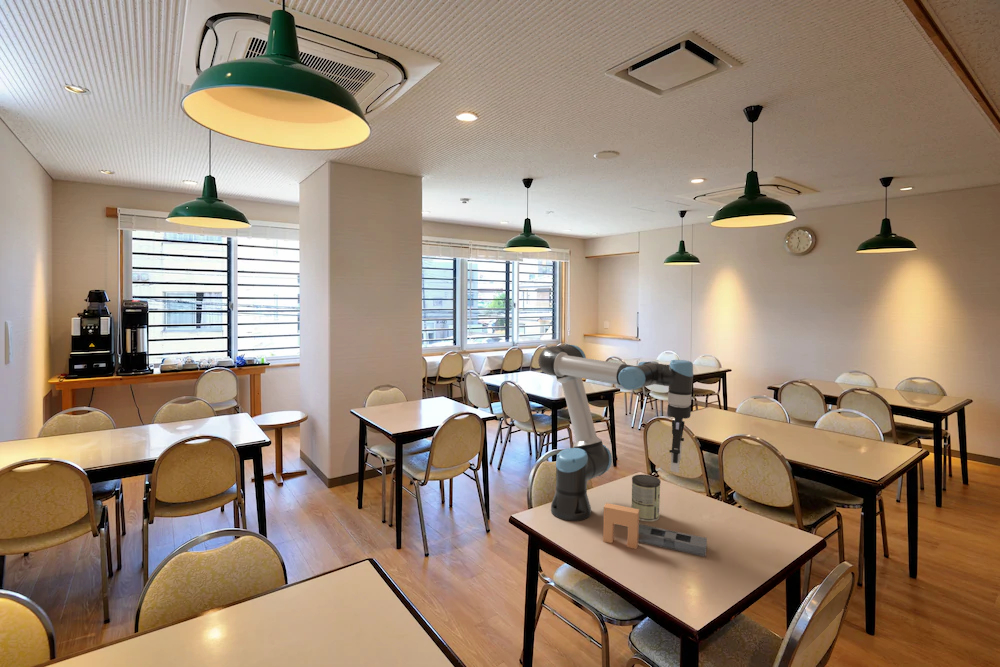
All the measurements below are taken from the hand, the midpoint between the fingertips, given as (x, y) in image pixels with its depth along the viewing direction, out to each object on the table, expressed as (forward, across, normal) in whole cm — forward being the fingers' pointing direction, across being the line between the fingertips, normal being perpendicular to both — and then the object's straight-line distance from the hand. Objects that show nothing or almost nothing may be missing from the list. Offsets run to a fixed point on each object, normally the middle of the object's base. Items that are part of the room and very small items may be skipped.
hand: (675, 465), depth 166 cm
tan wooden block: (+24, -16, +15) cm, 33 cm away
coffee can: (+24, +9, +10) cm, 28 cm away
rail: (+24, -10, 0) cm, 26 cm away
